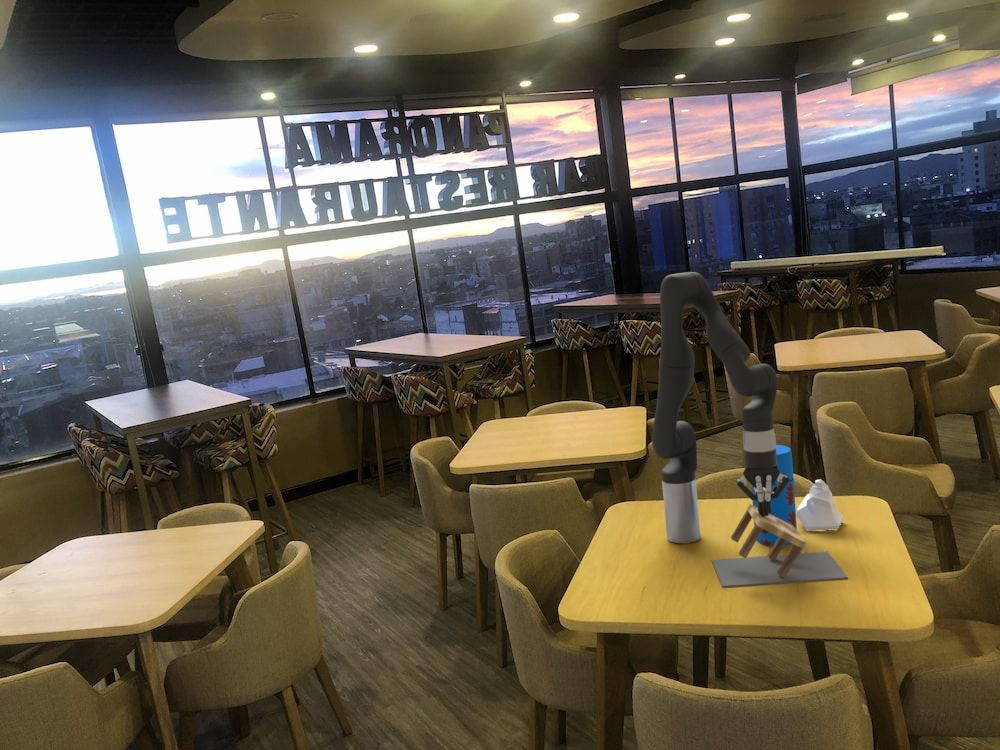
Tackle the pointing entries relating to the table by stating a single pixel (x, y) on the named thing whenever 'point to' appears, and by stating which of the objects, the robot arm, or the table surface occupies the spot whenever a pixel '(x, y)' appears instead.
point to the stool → (775, 527)
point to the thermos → (781, 497)
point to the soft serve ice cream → (819, 509)
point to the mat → (766, 570)
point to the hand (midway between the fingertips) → (764, 515)
